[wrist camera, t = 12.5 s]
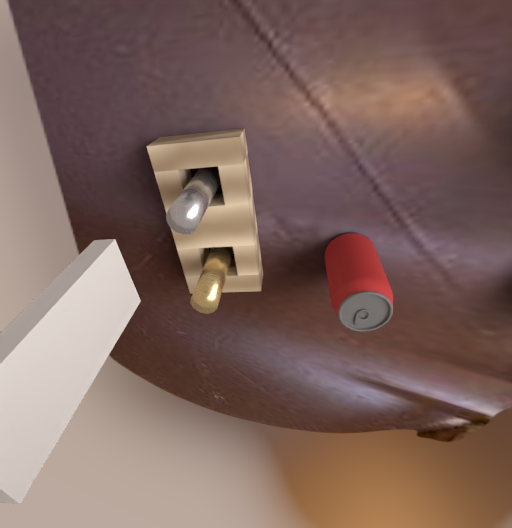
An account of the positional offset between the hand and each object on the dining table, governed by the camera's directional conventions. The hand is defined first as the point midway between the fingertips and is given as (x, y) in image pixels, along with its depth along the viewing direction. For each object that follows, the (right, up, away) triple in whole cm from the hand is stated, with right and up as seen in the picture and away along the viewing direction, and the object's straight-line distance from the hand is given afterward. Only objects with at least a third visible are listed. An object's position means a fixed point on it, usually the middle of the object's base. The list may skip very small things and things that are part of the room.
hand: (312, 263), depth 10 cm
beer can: (+11, +2, +33) cm, 35 cm away
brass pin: (-6, +2, +34) cm, 35 cm away
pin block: (-7, +7, +31) cm, 33 cm away
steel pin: (-7, +11, +28) cm, 31 cm away
